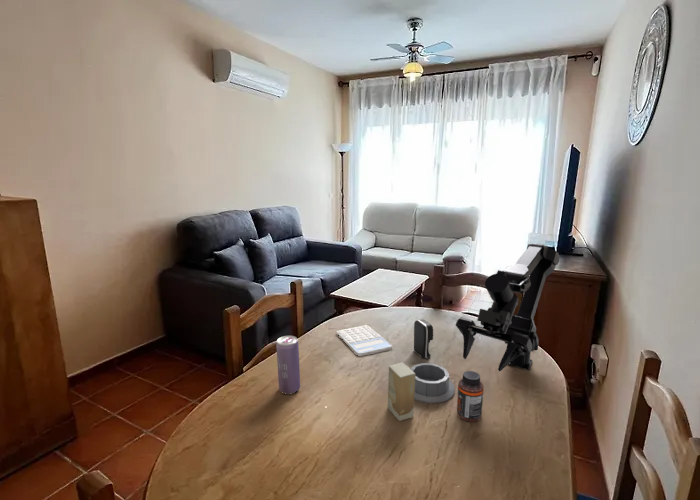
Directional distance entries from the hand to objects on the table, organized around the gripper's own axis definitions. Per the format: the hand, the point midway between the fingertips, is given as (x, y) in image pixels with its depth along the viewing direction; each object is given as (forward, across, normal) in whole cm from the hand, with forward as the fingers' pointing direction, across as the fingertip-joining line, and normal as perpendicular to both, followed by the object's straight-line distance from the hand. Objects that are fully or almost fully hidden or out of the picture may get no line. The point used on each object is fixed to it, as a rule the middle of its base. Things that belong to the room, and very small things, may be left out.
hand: (481, 364), depth 98 cm
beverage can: (+28, -43, -11) cm, 53 cm away
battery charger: (-2, -26, +19) cm, 32 cm away
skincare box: (+20, -13, -3) cm, 24 cm away
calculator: (+3, -47, +15) cm, 49 cm away
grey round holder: (+10, -14, +7) cm, 18 cm away
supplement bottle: (+12, 0, +5) cm, 13 cm away
